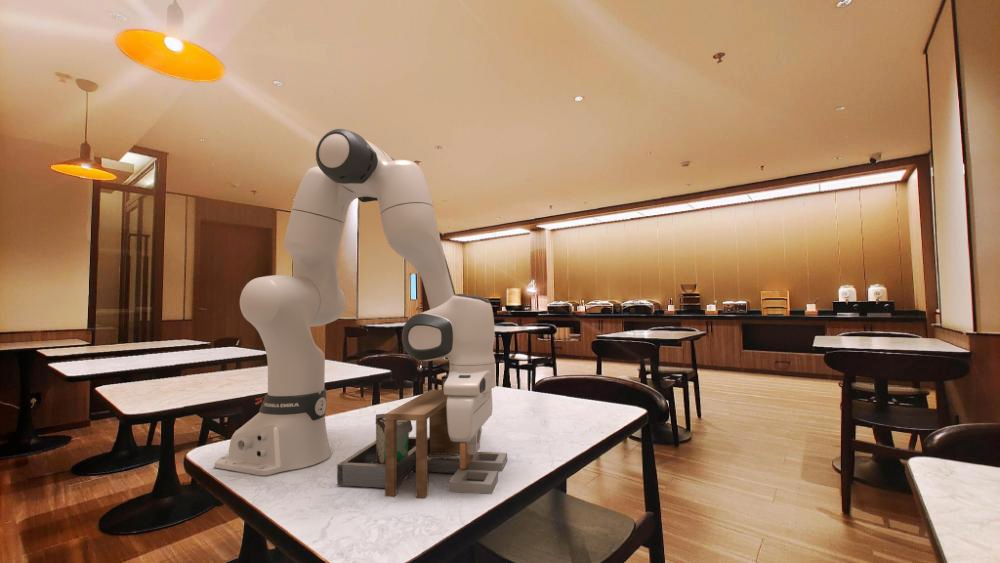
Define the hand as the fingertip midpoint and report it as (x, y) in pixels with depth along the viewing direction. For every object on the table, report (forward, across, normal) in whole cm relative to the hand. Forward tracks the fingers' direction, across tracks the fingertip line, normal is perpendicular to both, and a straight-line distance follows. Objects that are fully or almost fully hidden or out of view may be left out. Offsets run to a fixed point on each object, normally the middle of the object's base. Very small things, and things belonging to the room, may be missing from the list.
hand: (473, 452), depth 78 cm
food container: (+4, +1, -15) cm, 16 cm away
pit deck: (+4, 0, +1) cm, 4 cm away
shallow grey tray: (+4, 0, -12) cm, 12 cm away
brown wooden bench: (+4, 0, -9) cm, 10 cm away
